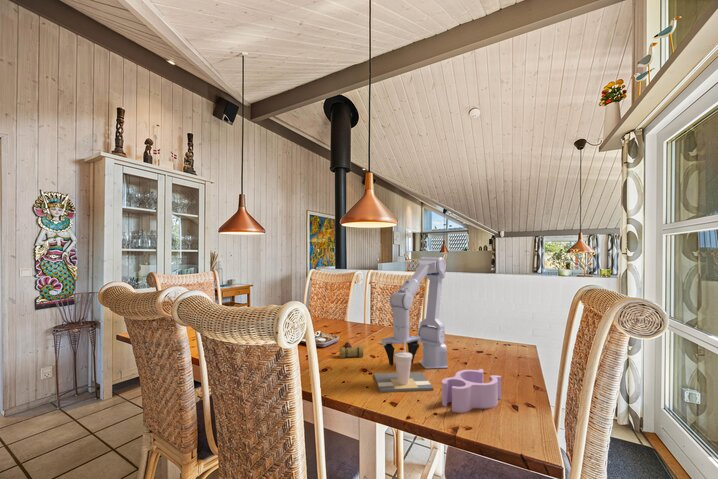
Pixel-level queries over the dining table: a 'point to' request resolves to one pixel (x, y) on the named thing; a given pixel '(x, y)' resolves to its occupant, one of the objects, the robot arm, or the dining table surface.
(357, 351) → the gavel
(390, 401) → the dining table surface
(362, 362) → the dining table surface
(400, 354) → the smoothie
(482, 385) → the clip
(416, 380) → the board
